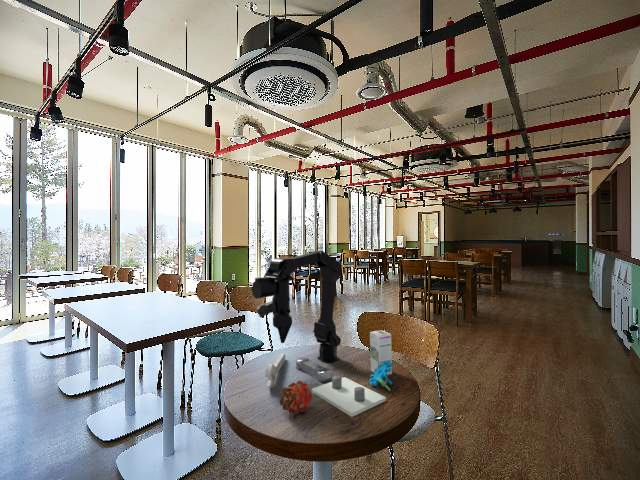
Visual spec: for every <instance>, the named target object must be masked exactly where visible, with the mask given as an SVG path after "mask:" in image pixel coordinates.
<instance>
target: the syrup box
mask: <svg viewBox="0 0 640 480" xmlns="http://www.w3.org/2000/svg"><path fill="white" fill-rule="evenodd" d="M369 349H370V350H369V351H370V352H369V355H370V357H369V359H370V362H369V363H370V368H369V371H370V372H372V374H373V375H374V374H375V372H374V370H375V369H377V370H378V368H379V365H380V364H383V362H384V361H386V362H387V361H388V360H389V361H390V362H391V363H392V359H393V358H392V334H391V333H389V332H388V331H384V330H383V329H381V330H374V331H370V332H369ZM392 364H393V363H392ZM392 367H393V366H392ZM392 367H390V368H391V371H390V372H388V371H387V372H386V373H387V374H388V376H390V375H392V374H393V372H392V371H393V370H392ZM389 374H390V375H389Z"/></svg>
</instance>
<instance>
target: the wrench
mask: <svg viewBox="0 0 640 480" xmlns="http://www.w3.org/2000/svg"><path fill="white" fill-rule="evenodd" d="M285 361H286V353H280V354H279V356H278V358H276V360H275V361H274V363H268V364H267V365H266V368H265V374H264V375H265V376H264V377H265V378H268V380H267V383H266V388H268V389H271V388H275V382H276V377H277V374H278V373H279V371H280V370H281V368H282V367H283V365H284V363H285Z"/></svg>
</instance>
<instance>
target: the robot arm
mask: <svg viewBox="0 0 640 480" xmlns="http://www.w3.org/2000/svg"><path fill="white" fill-rule="evenodd" d="M312 264H315V265H316V266H317V268H319V269H320V270H319V271H320V273H319V274H320V277H321V279H322V281H323V283H322V294H321V295H322V296H321V305H320V307H321V308H320V316H319V319H318V321H314V323H313V326H314V327H313V330H312V332H313V335H314V337H315V339H316V342H317V343H319V350H318V352H319V353H318V356H317V360H320V361H323V362H325V363H327V364H328V363H332V362H335V361H338V360H340V357H338V346H340V345H341V341H342V339H341V338H340V336H339V335H338V334H337V331H336V330H337V329H336V328H337V327H336V324H335V321H334V319H333V318H334V317H333V316H334V308H335V307H334V306H335V305H334V304H335V293H336V285H337V282H338V280H339V279H340V277H341V273H342V264H341V262H340V261H339V260H336V259H335V258H333V257H332V256H330V255H328V253H326V252H325V251H323V250H314V251H312V252H311V251H310V252H307V253H303V254H301V255H297V256H293V257H275V258H273V259H271V262H270V264H269V266H268V268H267V270H266V272H265V274H264V276H263V277H255V278H254V282H253V283H252V285H251V286H252V287H251V293H252V296H253V297H254V298H255V299H265V298H268V297H269V298H270V297H272V300H270V301H268V302H265V303H262V304H260V305H258V306H256V311H257V314H258V316H259V318H263V317H265V316H267V315H270V314H271V313H272V326H273V327H274V328H276V329H277V331H278V335H279V339H280V340H279V341H280V343H281V344H285V343H286V340H287V337H288V335H289V332H290V329H291V328H292V326H293V317H292V315H291V305H290V304H291V303H290V302H291V297H290V295H291V294H290V282H291V281H292V282H293V281H295V278H294V277H293V276H292V275H291V274H292V273H294V272H295V271H297V269H299V268H302V267H305V266H309V265H312Z"/></svg>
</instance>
